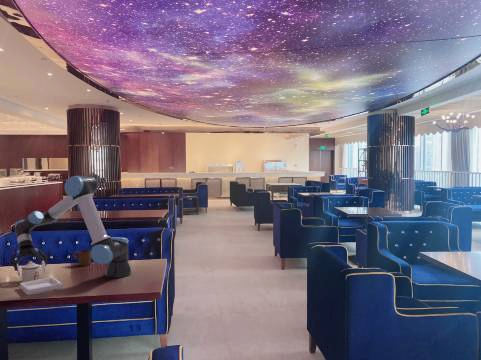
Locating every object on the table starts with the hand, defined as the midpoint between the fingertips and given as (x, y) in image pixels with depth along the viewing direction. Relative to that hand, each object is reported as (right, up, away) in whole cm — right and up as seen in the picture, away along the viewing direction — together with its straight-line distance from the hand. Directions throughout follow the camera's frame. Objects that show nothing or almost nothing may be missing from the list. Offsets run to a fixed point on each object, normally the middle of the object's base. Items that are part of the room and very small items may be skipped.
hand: (32, 272), depth 230 cm
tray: (+12, -6, -13) cm, 18 cm away
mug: (+12, -4, +41) cm, 43 cm away
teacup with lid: (-2, -5, +2) cm, 6 cm away
